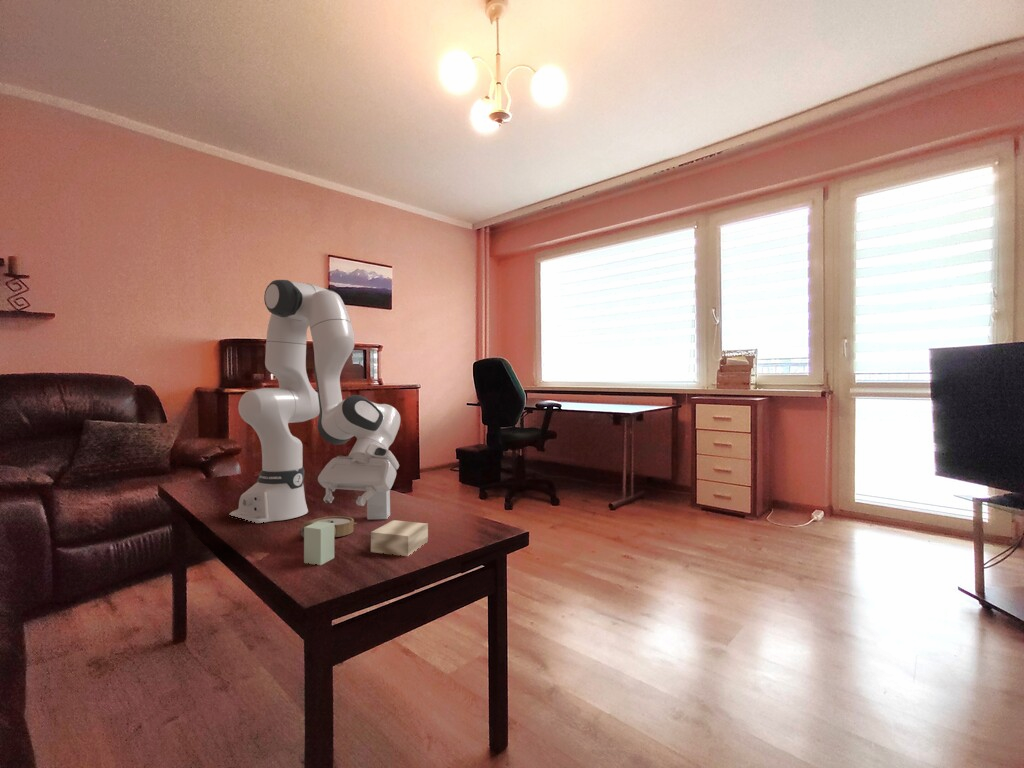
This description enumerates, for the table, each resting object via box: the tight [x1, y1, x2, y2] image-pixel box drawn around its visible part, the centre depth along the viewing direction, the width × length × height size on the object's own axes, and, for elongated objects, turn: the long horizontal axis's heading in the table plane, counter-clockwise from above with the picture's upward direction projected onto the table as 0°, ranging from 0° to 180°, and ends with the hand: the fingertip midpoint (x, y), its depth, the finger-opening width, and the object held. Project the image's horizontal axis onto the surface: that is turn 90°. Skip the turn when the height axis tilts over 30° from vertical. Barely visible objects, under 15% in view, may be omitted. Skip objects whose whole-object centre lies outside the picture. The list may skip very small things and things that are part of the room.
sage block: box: [303, 521, 335, 566], centre depth 101 cm, size 4×4×8 cm
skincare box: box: [366, 489, 391, 521], centre depth 134 cm, size 6×4×12 cm
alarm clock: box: [298, 515, 358, 539], centre depth 118 cm, size 11×5×15 cm
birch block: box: [370, 519, 429, 557], centre depth 110 cm, size 10×10×5 cm
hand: (342, 503), depth 109 cm, fingers open, 8 cm apart
